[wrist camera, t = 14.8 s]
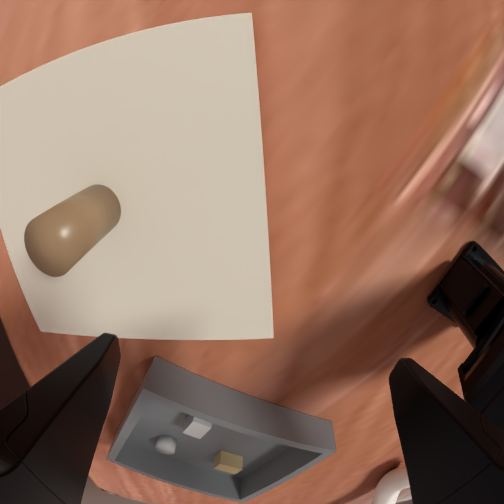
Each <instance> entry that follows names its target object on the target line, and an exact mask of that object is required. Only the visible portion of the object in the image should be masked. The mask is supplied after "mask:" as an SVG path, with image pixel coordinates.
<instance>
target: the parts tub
mask: <svg viewBox="0 0 504 504" xmlns="http://www.w3.org/2000/svg"><path fill="white" fill-rule="evenodd" d="M336 451H337V450H336V444H335V438H334V431H333V425H332V421H328V420H325V419H321V418H318V417H314V416H311V415H307V414H304V413H301V412H297V411H294V410H291V409H288V408H285V407H282V406H279V405H276V404H273V403H270V402H267V401H264V400H261V399H258V398H255V397H253V396H250V395H247V394H244V393H242V392H239V391H236V390H234V389H231V388H229V387H226V386H223V385H221V384H218V383H216V382H213V381H211V380H209V379H206V378H204V377H201V376H199V375H197V374H194V373H192V372H190V371H187V370H185V369H183V368H181V367H178V366H176V365H174V364H172V363H170V362H168V361H165V360H163V359H161V358H159V357H157V356H155V357H154V359H153V361H152V363H151V365H150V367H149V369H148V371H147V373H146V375H145V377H144V378H143V380H142V382H141V384H140V386H139V388H138V390H137V392H136V394H135V396H134V398H133V400H132V402H131V404H130V406H129V408H128V410H127V412H126V414H125V416H124V418H123V420H122V422H121V424H120V426H119V428H118V430H117V432H116V434H115V436H114V439H113V442H112V445H111V447H110V450H109V453H108V456H107V460H109V461H111V462H114V463H116V464H118V465H121V466H123V467H125V468H128V469H130V470H133V471H135V472H138V473H140V474H143V475H146V476H148V477H151V478H154V479H157V480H160V481H163V482H166V483H169V484H172V485H175V486H178V487H182V488H185V489H188V490H192V491H195V492H199V493H203V494H207V495H211V496H215V497H219V498H223V499H228V500H232V501H237V502H242V503H243V502H245V501H247V500H250V499H252V498H254V497H256V496H258V495H260V494H262V493H264V492H266V491H268V490H270V489H272V488H274V487H276V486H278V485H280V484H282V483H284V482H286V481H287V480H289V479H291V478H293V477H295V476H296V475H298V474H300V473H302V472H303V471H305V470H307V469H309V468H310V467H312V466H314V465H315V464H317V463H318V462H320V461H322V460H323V459H325V458H326V457H328V456H330V455H331V454H333V453H334V452H336Z"/></svg>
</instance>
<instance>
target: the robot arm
mask: <svg viewBox="0 0 504 504" xmlns="http://www.w3.org/2000/svg"><path fill="white" fill-rule="evenodd" d="M474 246H475V247H474ZM473 247H474V249H473ZM433 300H434V301H433ZM427 302H428V304H429V305H430V306H431V307H433V308H434V309H436V310H437V311H439V312H440V313H442V314H443V315H445V316H446V317H448V318H449V319H451V320H452V321H454V322H455V323H456V324H457V325H458V326H459V328H460V329H461V331H462V332H463V333H464V335H465V336H466V338H467V339H468V341H469V342H470V344H471V345H472V347H473V348H474V350H473V351H472V352H471V354H470V355H469V356H468V358H467V359H466V360H465V362H464V363H462V364H461V365H460V366H459V368H458V373H459V378H460V382H461V386H462V391H463V396H464V400H463V399H462V398H460V397H459V396H458V395H457V394H455V393H454V392H453V391H452V390H450V389H449V388H448V387H447V386H445V385H444V384H443V383H442V382H440V381H439V380H438V379H437V378H435V377H434V376H433V375H432V374H430V373H429V372H428V371H427V370H425V369H424V368H423V367H421V366H420V365H419V364H418V363H416V362H415V361H414V360H413V359H411V358H401V359H399V360H398V362H397V363H396V365H395V367H394V368H393V370H392V372H391V373H390V376H389V385H390V391H391V397H392V403H393V410H394V416H395V421H396V426H397V430H398V434H399V438H400V442H401V447H402V451H403V455H404V460H405V465H406V469H407V474H408V479H409V484H410V490H411V495H412V500H413V504H504V271H503V270H502V269H501V268H500V266H499V265H498V264H497V263H496V262H495V261H494V260H493V259H492V258H491V257H490V256H489V255H488V254H487V252H486V251H485V250H484V249H483V248H482V247H481V246H480V245H479V244H478V243H476V242H475V241H472V242H470V243H469V245H468V246H467V248H466V249H465V250H464V252H463V253H462V255H461V256H460V257H459V259H458V260H457V261H456V263H455V264H454V266H453V267H452V268H451V269H450V271H449V272H448V273H447V275H446V276H445V277H444V279H443V280H442V281H441V282H440V284H439V285H438V286H437V287H436V289H435V290H434V291H433V292H432V294H431V295H430V296H429V297H428V300H427ZM119 363H120V348H119V342H118V337H117V335H115V334H110V333H103V334H101V335H100V336H99V337H97V338H96V339H94V340H93V341H92V342H90V343H89V344H88V345H86V346H85V347H84V348H82V349H81V350H80V351H78V352H77V353H76V354H74V355H73V356H72V357H70V358H69V359H68V360H66V361H65V362H64V363H62V364H61V365H60V366H58V367H57V368H56V369H54V370H53V371H52V372H50V373H49V374H48V375H46V376H45V377H44V378H42V379H41V380H40V381H38V382H37V383H36V384H34V385H33V386H32V387H30V388H29V389H28V390H27V391H26V393H25V392H24V393H22V394H21V395H20V396H19V397H17V398H16V399H15V400H13V401H12V402H10V403H9V404H8V405H6V406H5V407H3V408H2V409H0V504H81V500H82V496H83V492H84V488H85V485H86V481H87V478H88V474H89V470H90V467H91V464H92V460H93V457H94V453H95V450H96V447H97V444H98V440H99V437H100V434H101V431H102V428H103V425H104V422H105V419H106V416H107V413H108V410H109V406H110V403H111V399H112V394H113V390H114V385H115V381H116V376H117V372H118V367H119Z"/></svg>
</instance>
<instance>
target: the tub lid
mask: <svg viewBox="0 0 504 504" xmlns="http://www.w3.org/2000/svg"><path fill="white" fill-rule="evenodd" d="M0 228H1V231H2V235H3V238H4V241H5V244H6V248H7V251H8V254H9V257H10V259H11V262H12V265H13V268H14V271H15V273H16V276H17V279H18V281H19V284H20V286H21V289H22V291H23V294H24V296H25V299H26V301H27V303H28V306H29V308H30V310H31V312H32V314H33V317H34V319H35V321H36V323H37V325H38V327H39V329H40V331H41V332H49V333H59V334H70V335H82V336H95V337H99V336H100V335H101V334H103V333H110V334H115V335H117V337H118V338H130V339H158V340H237V339H266V338H274V332H273V311H272V291H271V273H270V255H269V237H268V221H267V205H266V189H265V174H264V160H263V146H262V132H261V118H260V105H259V92H258V80H257V68H256V56H255V44H254V33H253V21H252V13H242V14H231V15H222V16H214V17H207V18H200V19H194V20H188V21H183V22H177V23H172V24H167V25H163V26H158V27H154V28H150V29H145V30H141V31H138V32H134V33H130V34H127V35H123V36H120V37H116V38H113V39H110V40H107V41H103V42H100V43H97V44H95V45H92V46H89V47H86V48H83V49H81V50H78V51H75V52H73V53H70V54H68V55H65V56H63V57H60V58H58V59H55V60H53V61H51V62H48V63H46V64H44V65H42V66H40V67H37V68H35V69H33V70H31V71H29V72H27V73H25V74H23V75H21V76H19V77H17V78H15V79H13V80H11V81H9V82H8V83H6V84H4V85H2V86H0Z"/></svg>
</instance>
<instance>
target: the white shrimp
mask: <svg viewBox="0 0 504 504" xmlns="http://www.w3.org/2000/svg"><path fill="white" fill-rule="evenodd" d="M409 487H410V484H409V479H408V474H407V469H406V466H404V467H399V468H396V469H394V470H391V471H389V472H388V473H386V474H385V475H384V476H383V477H382V478H381V480H380V481H379V482H378V484H377V486H376V489H375V492H374V496H373V500H372V504H395V503H396V499H397V497H398V495H399V492H400V491H401V490H402V489H405V488H409Z"/></svg>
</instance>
